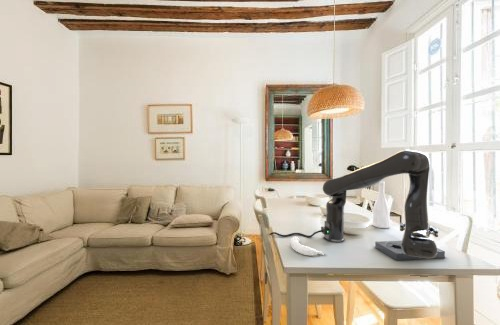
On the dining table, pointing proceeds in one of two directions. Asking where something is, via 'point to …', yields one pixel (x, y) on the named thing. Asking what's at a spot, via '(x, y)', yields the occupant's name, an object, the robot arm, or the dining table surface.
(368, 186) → the robot arm
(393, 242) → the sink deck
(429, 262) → the dining table surface
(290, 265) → the dining table surface
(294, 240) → the banana
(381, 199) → the wine bottle
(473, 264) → the dining table surface
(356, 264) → the dining table surface
